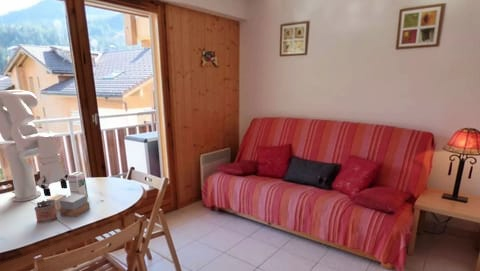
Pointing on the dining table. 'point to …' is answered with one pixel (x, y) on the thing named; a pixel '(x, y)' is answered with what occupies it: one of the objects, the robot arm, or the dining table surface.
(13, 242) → the dining table surface
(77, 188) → the syrup box
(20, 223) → the dining table surface
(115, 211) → the dining table surface
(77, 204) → the slate block
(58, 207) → the birch cube
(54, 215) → the lighter
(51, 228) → the dining table surface
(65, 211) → the walnut block
